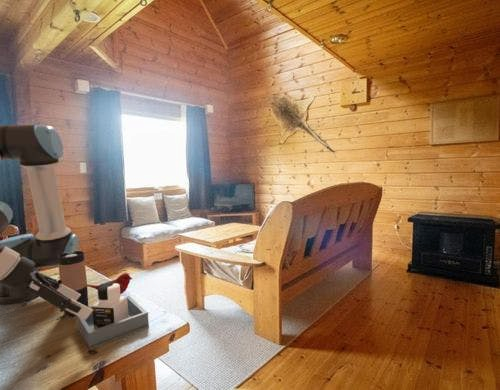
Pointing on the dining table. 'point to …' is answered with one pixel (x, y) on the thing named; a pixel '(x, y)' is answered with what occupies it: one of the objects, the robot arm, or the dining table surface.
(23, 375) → the dining table surface
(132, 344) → the dining table surface
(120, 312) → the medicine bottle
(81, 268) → the travel mug
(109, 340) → the open-top bin
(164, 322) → the dining table surface
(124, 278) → the decorative bird figurine
